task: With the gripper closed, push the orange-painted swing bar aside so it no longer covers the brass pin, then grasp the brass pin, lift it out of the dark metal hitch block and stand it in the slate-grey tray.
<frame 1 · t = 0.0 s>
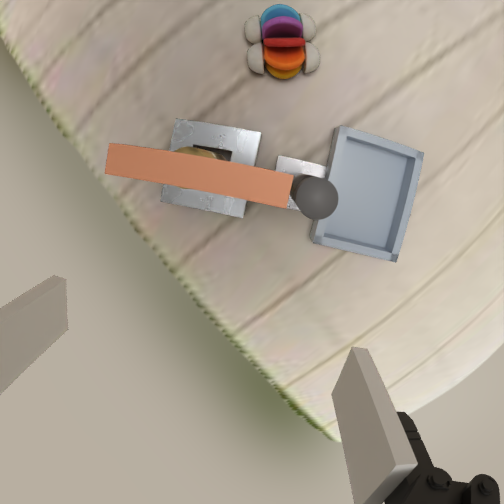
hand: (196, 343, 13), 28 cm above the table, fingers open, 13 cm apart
tray: (364, 193, 38), on the table
pin: (202, 167, 32), in the hitch block
rainbow disc toy: (281, 48, 34), on the table
hitch block: (213, 166, 38), on the table
gate post: (297, 184, 38), on the table
swing bar: (219, 175, 23), point 16 cm above the table, hinge at 0.0°
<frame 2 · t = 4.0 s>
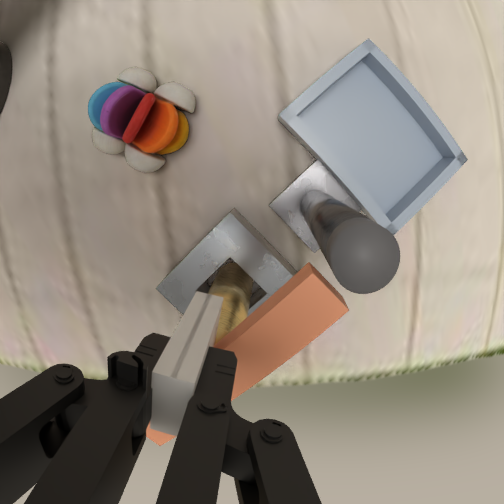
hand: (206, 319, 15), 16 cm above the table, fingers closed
tray: (372, 137, 27), on the table
pin: (225, 309, 25), in the hitch block
rainbow disc toy: (149, 120, 28), on the table
hitch block: (234, 280, 31), on the table
gate post: (315, 205, 29), on the table
swing bar: (246, 348, 16), point 16 cm above the table, hinge at 0.9°, touching gripper
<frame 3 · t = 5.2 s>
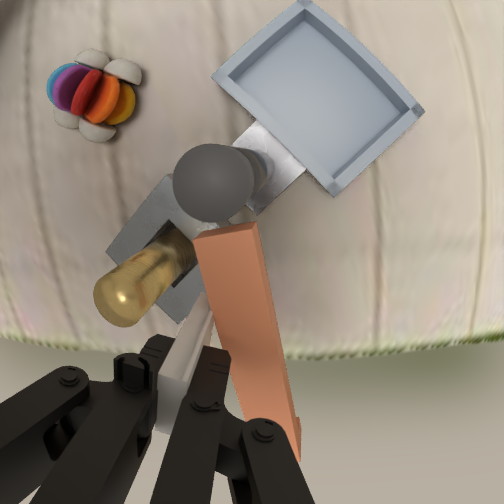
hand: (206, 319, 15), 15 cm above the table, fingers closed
tray: (318, 95, 25), on the table
pin: (155, 267, 25), in the hitch block
rainbow disc toy: (106, 96, 28), on the table
hitch block: (181, 245, 31), on the table
gate post: (258, 167, 28), on the table
swing bar: (253, 333, 15), point 16 cm above the table, hinge at 56.9°, touching gripper
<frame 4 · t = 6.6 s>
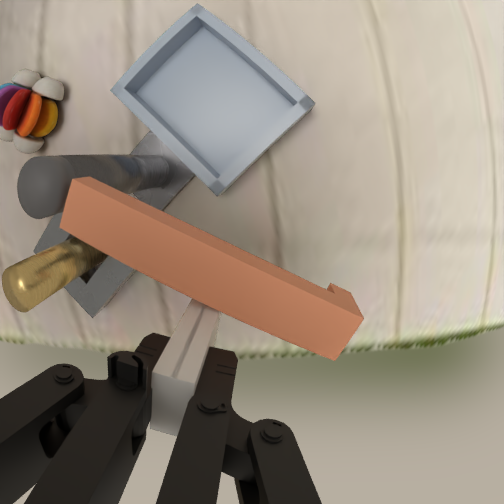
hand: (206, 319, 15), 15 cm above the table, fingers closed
tray: (212, 97, 27), on the table
pin: (62, 263, 25), in the hitch block
rainbow disc toy: (39, 111, 28), on the table
hitch block: (96, 245, 31), on the table
gate post: (157, 171, 29), on the table
swing bar: (173, 245, 14), point 16 cm above the table, hinge at 110.3°, touching gripper
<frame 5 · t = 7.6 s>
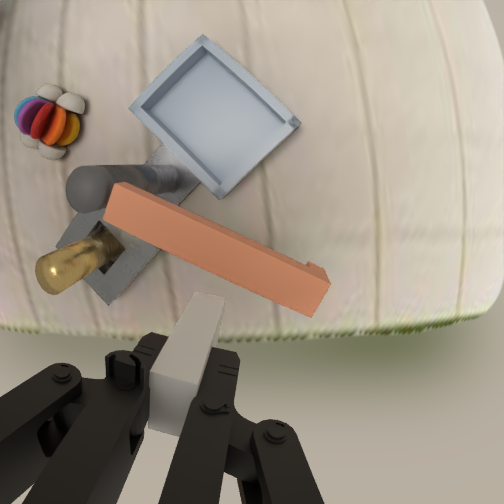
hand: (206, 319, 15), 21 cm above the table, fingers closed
tray: (215, 116, 32), on the table
pin: (85, 256, 30), in the hitch block
rainbow disc toy: (60, 122, 33), on the table
hitch block: (113, 242, 37), on the table
gate post: (167, 178, 34), on the table
swing bar: (189, 232, 20), point 16 cm above the table, hinge at 111.1°
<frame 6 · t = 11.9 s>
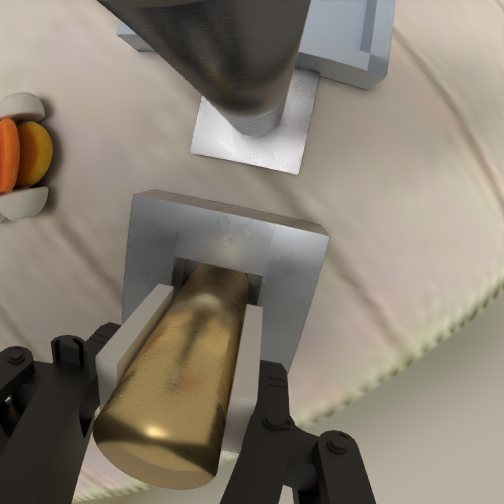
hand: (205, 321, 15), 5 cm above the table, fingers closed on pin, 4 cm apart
pin: (197, 340, 13), in the hitch block, touching gripper
rainbow disc toy: (19, 161, 18), on the table
hitch block: (219, 286, 20), on the table
gate post: (255, 111, 17), on the table
when the fingers open (6 cm above the table, at t = 18.8 s): pin stays where it is, resting on tray.
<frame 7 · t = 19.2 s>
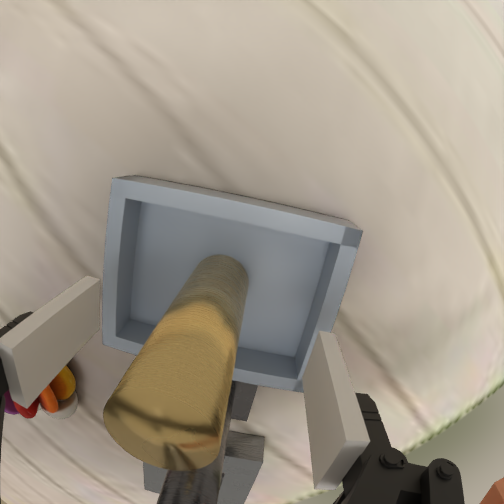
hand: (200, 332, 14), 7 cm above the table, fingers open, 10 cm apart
tray: (222, 278, 21), on the table
pin: (200, 332, 14), in the tray, point 7 cm above the table
rainbow disc toy: (45, 362, 25), on the table
hitch block: (201, 457, 26), on the table
gate post: (216, 381, 23), on the table
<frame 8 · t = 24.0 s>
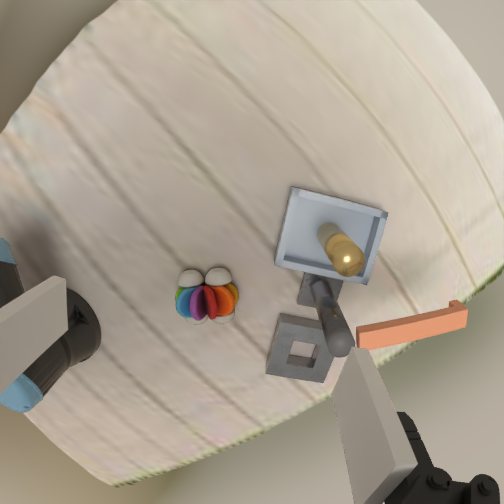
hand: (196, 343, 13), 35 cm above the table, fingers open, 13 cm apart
tray: (328, 233, 47), on the table
pin: (337, 246, 40), in the tray, point 7 cm above the table
rainbow disc toy: (209, 291, 50), on the table
hitch block: (302, 345, 52), on the table
gate post: (320, 288, 49), on the table
swing bar: (399, 327, 33), point 16 cm above the table, hinge at 111.1°
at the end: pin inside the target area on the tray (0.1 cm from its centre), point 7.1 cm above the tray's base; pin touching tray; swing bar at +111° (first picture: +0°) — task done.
